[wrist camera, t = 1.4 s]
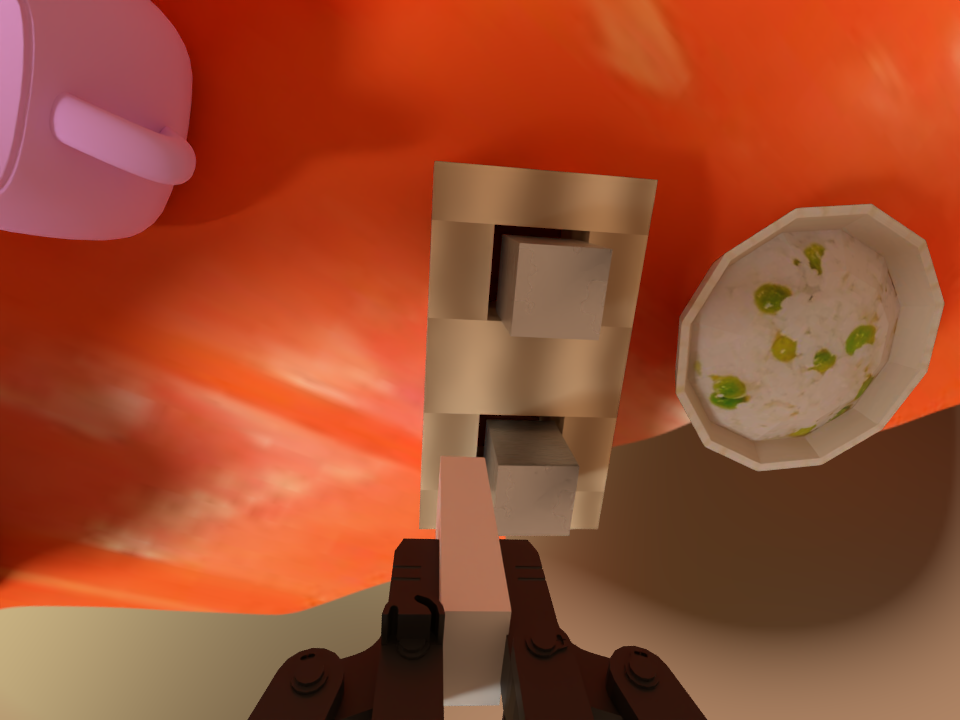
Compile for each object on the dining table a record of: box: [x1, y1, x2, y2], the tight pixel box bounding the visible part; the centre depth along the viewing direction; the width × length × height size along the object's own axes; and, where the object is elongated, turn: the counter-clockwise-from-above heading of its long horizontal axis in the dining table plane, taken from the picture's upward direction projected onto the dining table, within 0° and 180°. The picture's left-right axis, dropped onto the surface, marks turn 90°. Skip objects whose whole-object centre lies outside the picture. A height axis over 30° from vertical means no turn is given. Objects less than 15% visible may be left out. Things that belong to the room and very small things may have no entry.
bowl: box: [675, 204, 944, 471], centre depth 37 cm, size 19×19×10 cm
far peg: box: [483, 419, 580, 536], centre depth 34 cm, size 5×5×6 cm
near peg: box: [496, 234, 613, 340], centre depth 30 cm, size 5×5×6 cm
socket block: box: [419, 161, 658, 529], centre depth 37 cm, size 14×26×7 cm, turn 176°
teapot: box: [0, 0, 196, 240], centre depth 25 cm, size 23×21×15 cm
